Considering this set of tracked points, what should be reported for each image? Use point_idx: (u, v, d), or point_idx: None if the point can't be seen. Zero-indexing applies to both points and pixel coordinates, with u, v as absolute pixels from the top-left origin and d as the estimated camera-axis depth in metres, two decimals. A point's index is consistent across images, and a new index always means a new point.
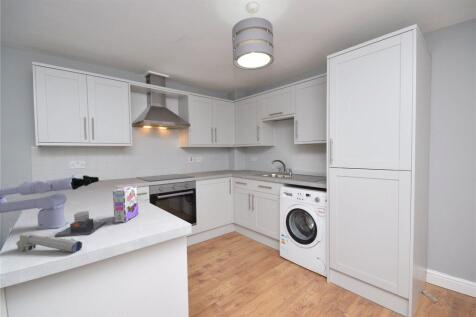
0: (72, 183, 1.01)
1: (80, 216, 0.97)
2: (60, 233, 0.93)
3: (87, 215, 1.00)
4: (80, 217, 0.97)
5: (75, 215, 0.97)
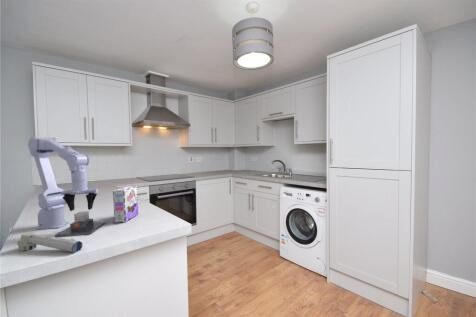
0: None
1: (80, 216, 0.97)
2: (60, 233, 0.93)
3: (87, 215, 1.00)
4: (80, 217, 0.97)
5: (75, 215, 0.97)
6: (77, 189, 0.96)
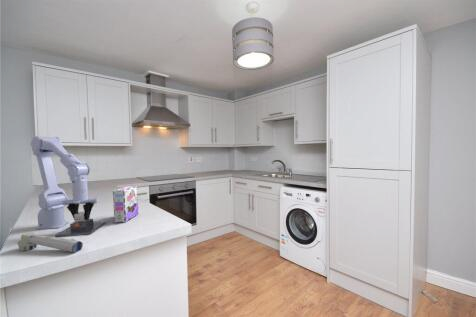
0: None
1: (80, 216, 0.97)
2: (60, 233, 0.93)
3: None
4: (80, 217, 0.97)
5: (75, 215, 0.97)
6: (78, 199, 0.96)
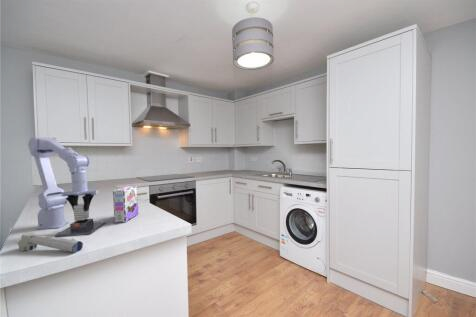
0: None
1: (79, 207, 0.97)
2: (60, 233, 0.93)
3: None
4: (80, 208, 0.97)
5: (74, 207, 0.97)
6: (77, 190, 0.96)
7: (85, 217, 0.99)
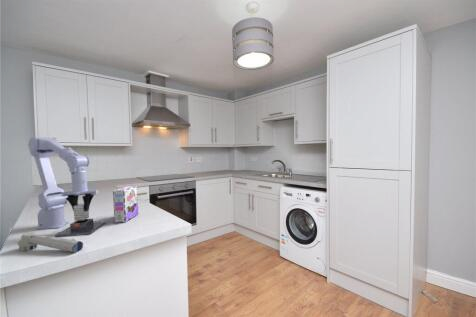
0: None
1: (79, 207, 0.97)
2: (60, 233, 0.93)
3: None
4: (80, 208, 0.97)
5: (74, 207, 0.97)
6: (77, 190, 0.96)
7: (85, 217, 0.99)
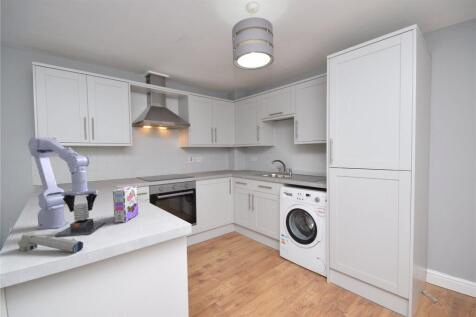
0: None
1: (79, 207, 0.97)
2: (60, 233, 0.93)
3: (86, 207, 1.00)
4: (80, 208, 0.97)
5: (74, 207, 0.97)
6: (77, 190, 0.96)
7: (85, 217, 0.99)
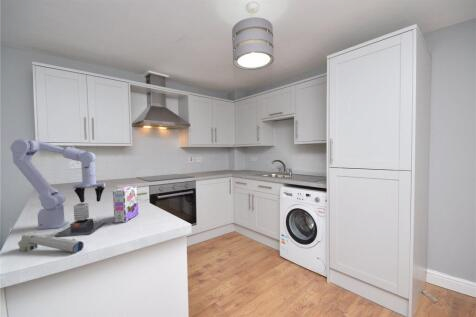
0: None
1: (79, 207, 0.97)
2: (60, 233, 0.93)
3: (86, 207, 1.00)
4: (80, 208, 0.97)
5: (74, 207, 0.97)
6: (87, 183, 1.08)
7: (85, 217, 0.99)
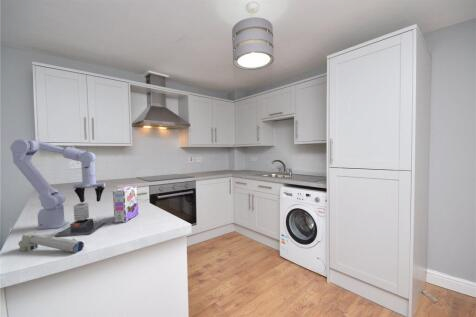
0: None
1: (79, 207, 0.97)
2: (60, 233, 0.93)
3: (86, 207, 1.00)
4: (80, 208, 0.97)
5: (74, 207, 0.97)
6: (87, 183, 1.08)
7: (85, 217, 0.99)
